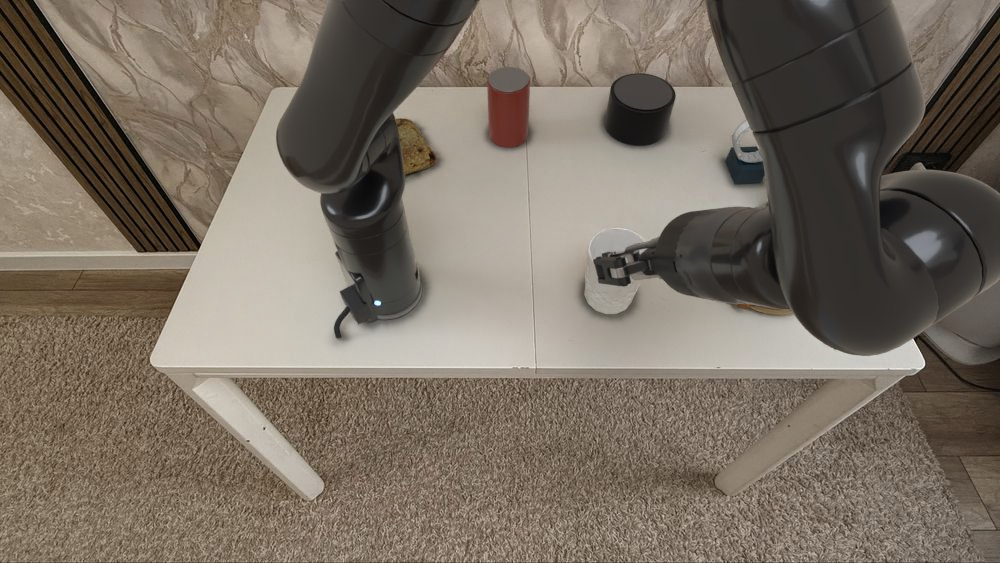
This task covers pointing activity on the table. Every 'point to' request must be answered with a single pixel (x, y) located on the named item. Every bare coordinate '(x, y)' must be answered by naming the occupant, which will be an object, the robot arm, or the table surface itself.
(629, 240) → the white cup
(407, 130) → the pastry
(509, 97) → the tin can
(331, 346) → the table surface
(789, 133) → the robot arm
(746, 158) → the watch
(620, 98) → the black cylinder
